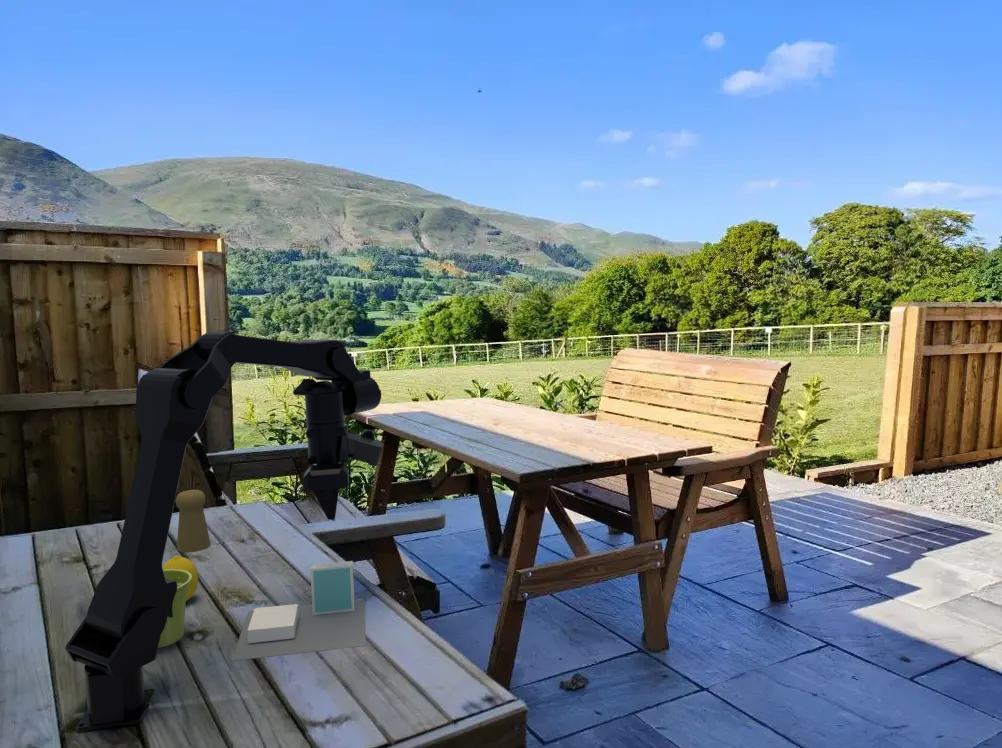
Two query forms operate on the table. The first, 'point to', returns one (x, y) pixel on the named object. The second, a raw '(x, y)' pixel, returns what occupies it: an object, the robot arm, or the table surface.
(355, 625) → the slate mat
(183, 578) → the plant pot
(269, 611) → the tile
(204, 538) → the cork
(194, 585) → the lemon
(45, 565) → the table surface
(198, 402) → the robot arm
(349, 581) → the tile
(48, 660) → the table surface
